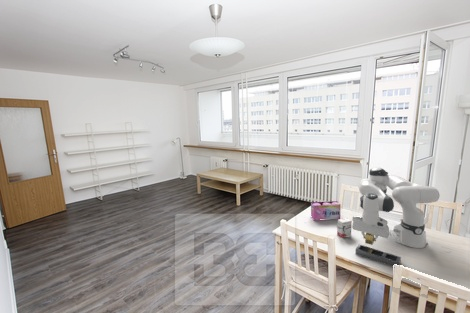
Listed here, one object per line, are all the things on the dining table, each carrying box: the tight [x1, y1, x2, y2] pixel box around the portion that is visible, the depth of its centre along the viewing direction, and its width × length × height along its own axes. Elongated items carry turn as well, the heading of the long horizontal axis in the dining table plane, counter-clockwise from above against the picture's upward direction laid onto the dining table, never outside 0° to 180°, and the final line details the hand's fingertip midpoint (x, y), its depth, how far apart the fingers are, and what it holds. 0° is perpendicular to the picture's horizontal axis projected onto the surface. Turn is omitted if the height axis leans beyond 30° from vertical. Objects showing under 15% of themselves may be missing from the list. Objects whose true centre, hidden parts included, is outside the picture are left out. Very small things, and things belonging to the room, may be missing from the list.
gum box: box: [310, 200, 341, 221], centre depth 190 cm, size 24×8×14 cm, turn 89°
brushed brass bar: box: [364, 233, 375, 246], centre depth 142 cm, size 4×4×6 cm
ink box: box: [336, 217, 353, 238], centre depth 161 cm, size 9×5×12 cm, turn 106°
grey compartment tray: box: [355, 243, 402, 267], centre depth 134 cm, size 22×7×4 cm, turn 46°
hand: (369, 239), depth 142 cm, fingers closed on brushed brass bar, 4 cm apart
